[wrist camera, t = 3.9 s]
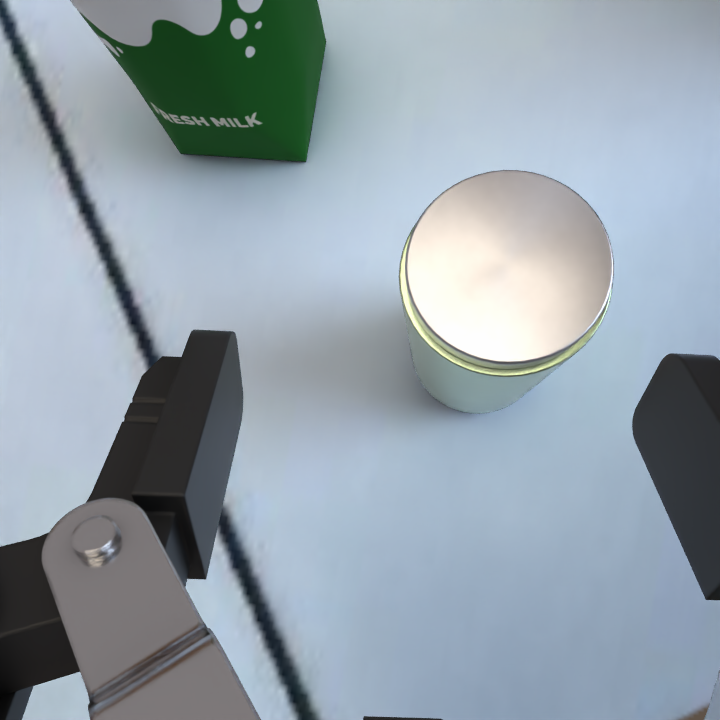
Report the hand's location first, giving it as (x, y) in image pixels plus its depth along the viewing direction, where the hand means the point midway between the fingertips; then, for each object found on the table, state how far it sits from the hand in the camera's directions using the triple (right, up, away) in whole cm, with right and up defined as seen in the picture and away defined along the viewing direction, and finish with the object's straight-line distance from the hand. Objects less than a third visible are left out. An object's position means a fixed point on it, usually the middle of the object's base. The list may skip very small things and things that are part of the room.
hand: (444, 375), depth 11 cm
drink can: (+4, +1, +16) cm, 16 cm away
